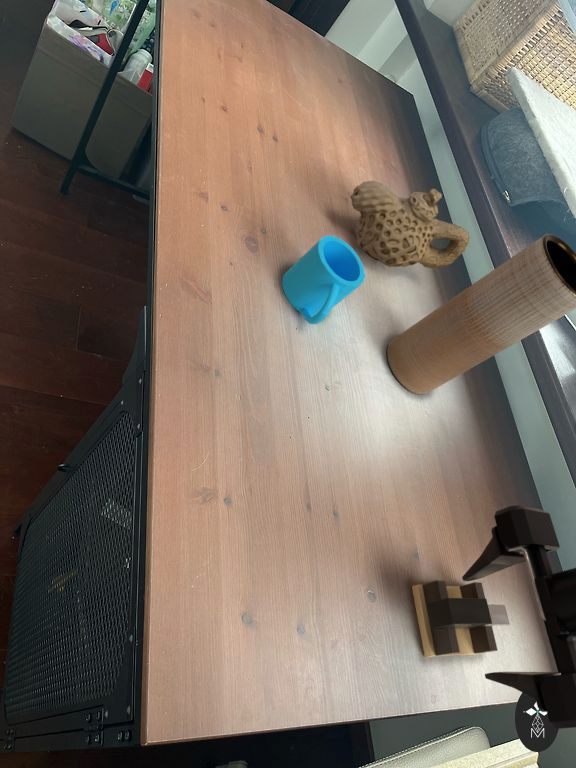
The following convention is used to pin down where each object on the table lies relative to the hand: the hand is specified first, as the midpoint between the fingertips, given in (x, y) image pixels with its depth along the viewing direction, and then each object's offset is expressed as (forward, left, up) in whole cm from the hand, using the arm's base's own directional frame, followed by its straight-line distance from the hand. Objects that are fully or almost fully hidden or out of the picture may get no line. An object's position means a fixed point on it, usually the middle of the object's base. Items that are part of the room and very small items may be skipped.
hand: (476, 625), depth 62 cm
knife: (-5, -8, -8) cm, 13 cm away
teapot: (+35, -52, -12) cm, 63 cm away
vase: (+18, -38, -12) cm, 43 cm away
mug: (+36, -28, -12) cm, 47 cm away
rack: (-5, -8, -12) cm, 15 cm away
